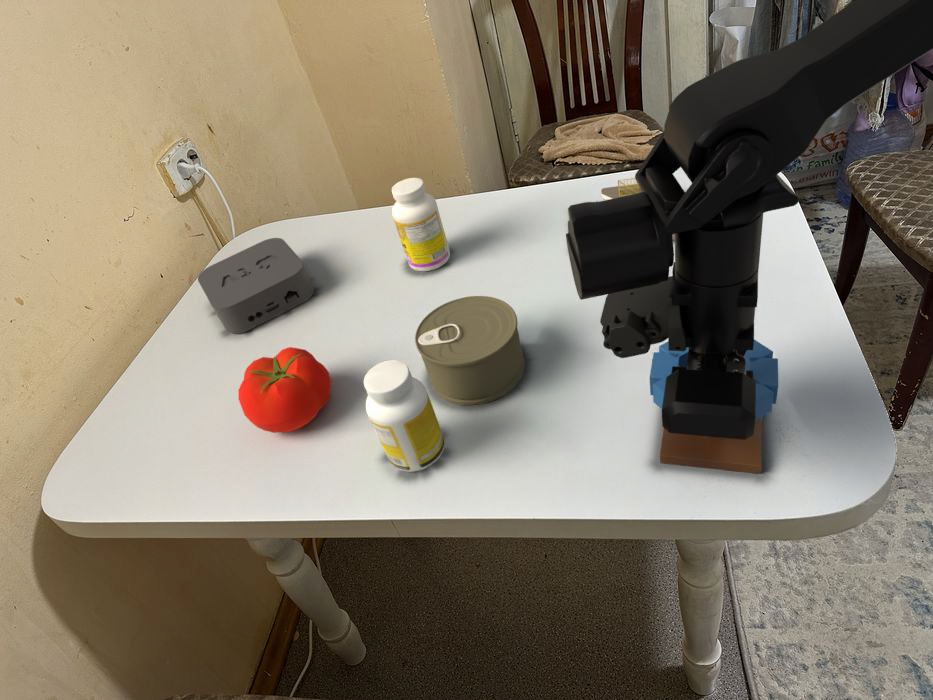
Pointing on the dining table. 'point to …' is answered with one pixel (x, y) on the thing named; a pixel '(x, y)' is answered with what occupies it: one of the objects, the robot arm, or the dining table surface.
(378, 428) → the pill bottle
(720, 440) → the peg stand
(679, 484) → the dining table surface
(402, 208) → the supplement bottle
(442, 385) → the can
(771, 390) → the blue ring
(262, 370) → the tomato
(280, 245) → the streaming box
